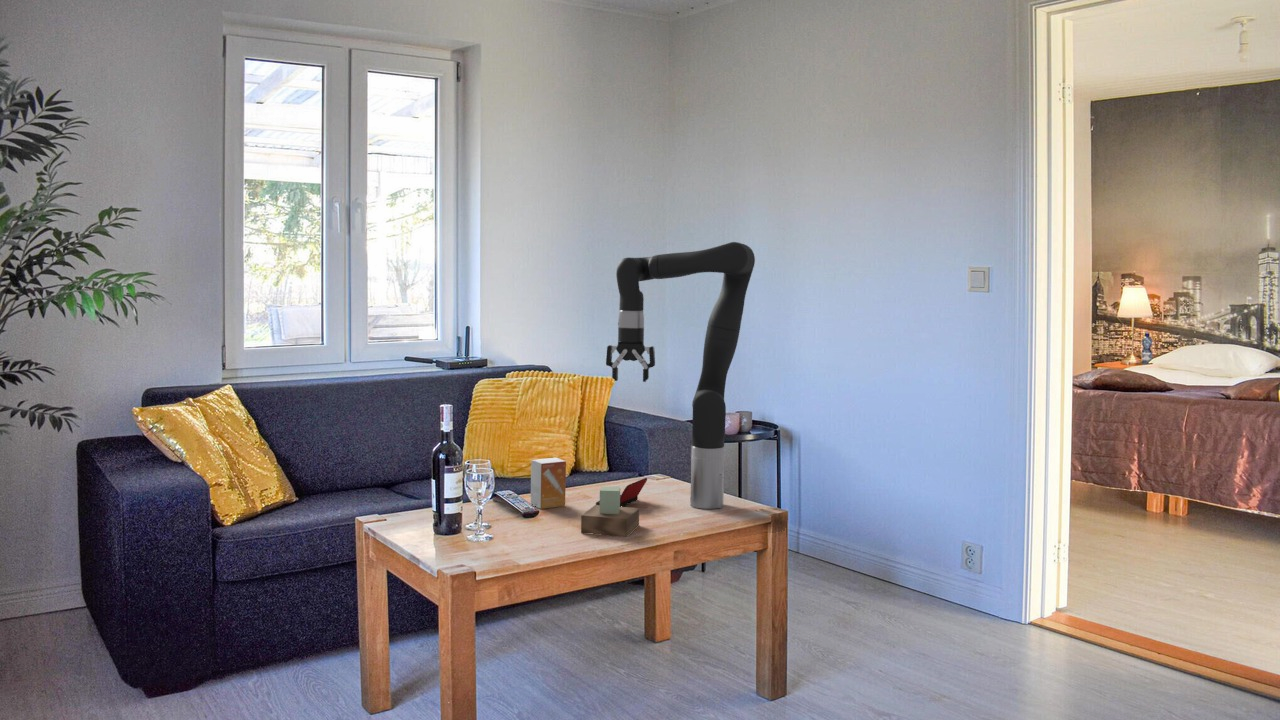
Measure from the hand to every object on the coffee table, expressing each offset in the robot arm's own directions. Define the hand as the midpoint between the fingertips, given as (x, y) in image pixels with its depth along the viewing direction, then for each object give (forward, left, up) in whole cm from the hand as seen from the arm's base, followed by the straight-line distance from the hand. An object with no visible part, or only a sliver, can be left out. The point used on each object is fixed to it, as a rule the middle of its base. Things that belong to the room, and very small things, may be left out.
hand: (630, 381), depth 293 cm
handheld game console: (0, +11, -35) cm, 36 cm away
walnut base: (-2, +39, -34) cm, 52 cm away
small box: (+20, +18, -34) cm, 44 cm away
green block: (-2, +39, -30) cm, 49 cm away
